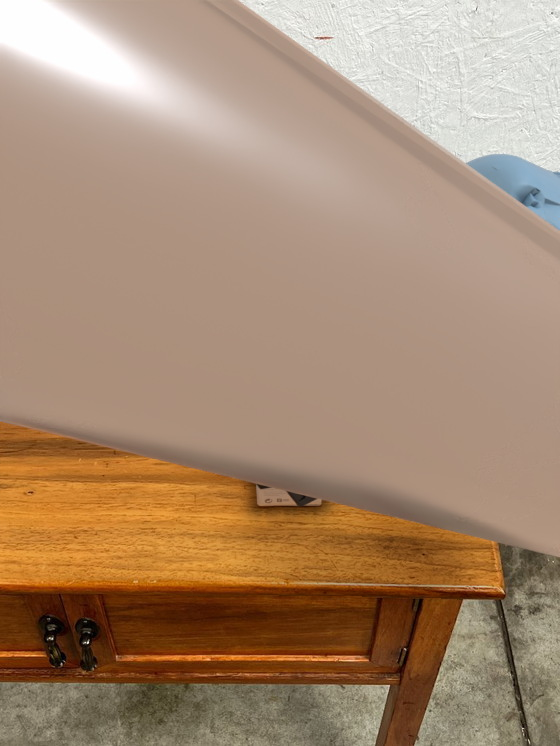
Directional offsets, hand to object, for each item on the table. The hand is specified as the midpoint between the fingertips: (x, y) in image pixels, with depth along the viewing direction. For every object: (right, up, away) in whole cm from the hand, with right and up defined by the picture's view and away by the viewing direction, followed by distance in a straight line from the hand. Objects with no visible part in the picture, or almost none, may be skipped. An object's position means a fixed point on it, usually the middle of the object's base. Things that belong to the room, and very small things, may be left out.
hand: (299, 419), depth 65 cm
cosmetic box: (-1, -5, +6) cm, 8 cm away
